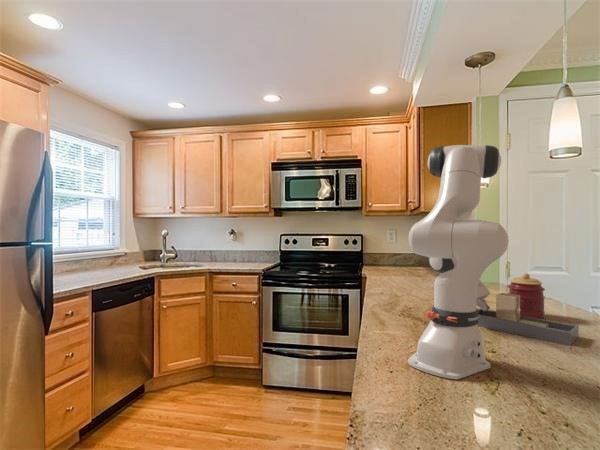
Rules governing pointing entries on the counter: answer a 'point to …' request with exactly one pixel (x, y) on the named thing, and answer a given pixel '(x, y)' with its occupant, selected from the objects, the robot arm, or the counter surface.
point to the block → (508, 306)
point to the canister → (528, 295)
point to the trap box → (530, 327)
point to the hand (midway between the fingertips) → (487, 309)
